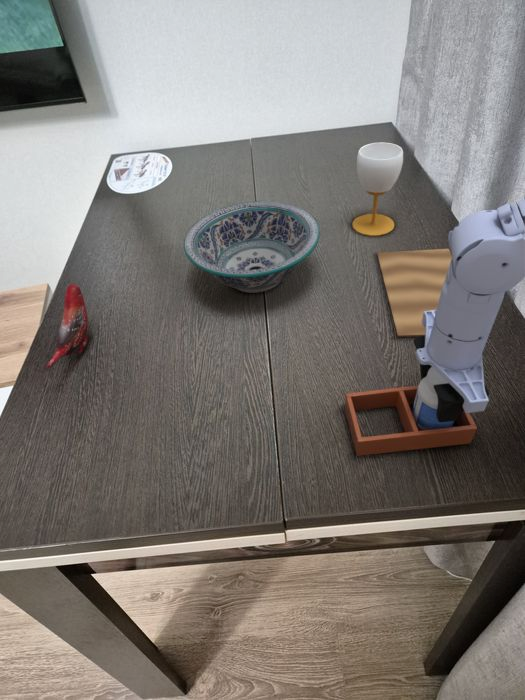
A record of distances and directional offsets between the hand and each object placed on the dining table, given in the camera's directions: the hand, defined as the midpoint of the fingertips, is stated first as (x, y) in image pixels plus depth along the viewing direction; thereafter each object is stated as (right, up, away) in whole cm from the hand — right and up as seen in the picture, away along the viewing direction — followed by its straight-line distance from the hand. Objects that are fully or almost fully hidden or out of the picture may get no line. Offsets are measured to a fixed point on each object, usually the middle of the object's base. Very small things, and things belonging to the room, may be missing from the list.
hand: (437, 400), depth 57 cm
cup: (+2, +34, +40) cm, 52 cm away
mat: (+7, +17, +23) cm, 29 cm away
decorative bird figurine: (-54, +6, +19) cm, 58 cm away
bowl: (-24, +21, +30) cm, 44 cm away
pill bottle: (0, -4, +4) cm, 5 cm away
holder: (-3, -4, +4) cm, 6 cm away
